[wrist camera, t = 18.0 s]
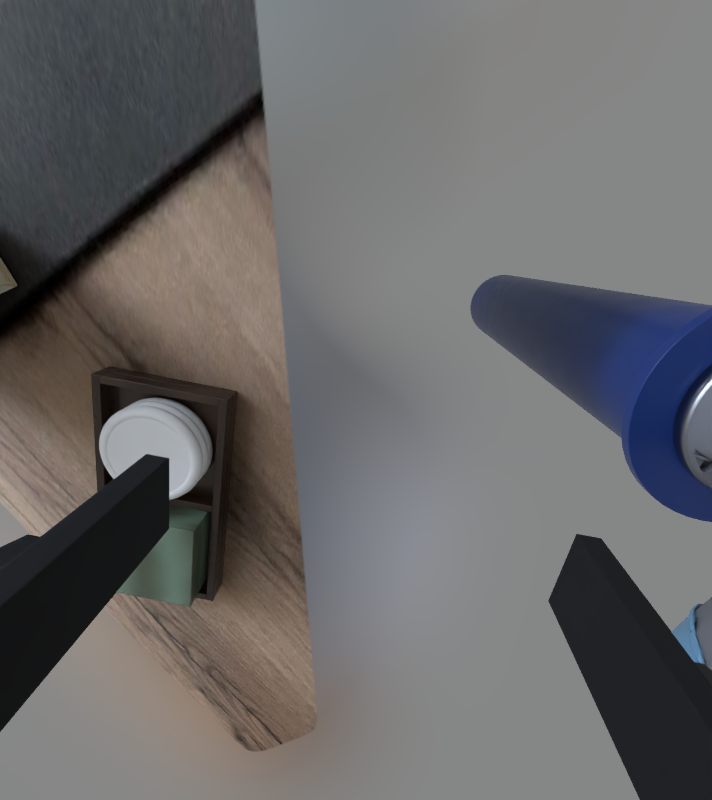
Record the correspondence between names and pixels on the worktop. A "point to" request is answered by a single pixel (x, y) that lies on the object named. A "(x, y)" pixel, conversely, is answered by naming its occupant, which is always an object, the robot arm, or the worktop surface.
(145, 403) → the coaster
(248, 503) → the worktop surface
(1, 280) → the coffeecake box
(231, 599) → the worktop surface
